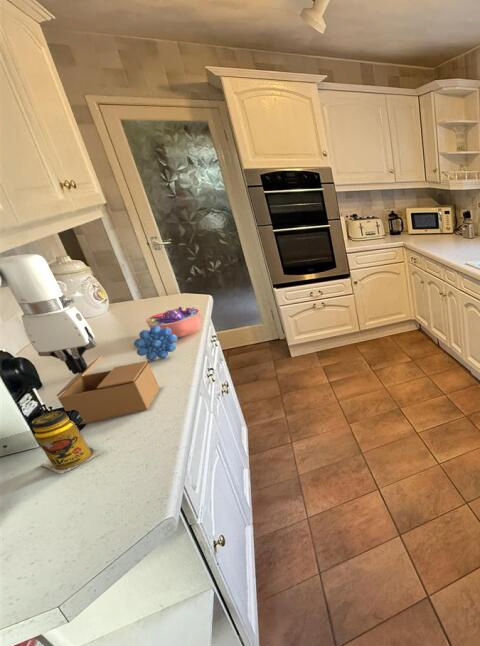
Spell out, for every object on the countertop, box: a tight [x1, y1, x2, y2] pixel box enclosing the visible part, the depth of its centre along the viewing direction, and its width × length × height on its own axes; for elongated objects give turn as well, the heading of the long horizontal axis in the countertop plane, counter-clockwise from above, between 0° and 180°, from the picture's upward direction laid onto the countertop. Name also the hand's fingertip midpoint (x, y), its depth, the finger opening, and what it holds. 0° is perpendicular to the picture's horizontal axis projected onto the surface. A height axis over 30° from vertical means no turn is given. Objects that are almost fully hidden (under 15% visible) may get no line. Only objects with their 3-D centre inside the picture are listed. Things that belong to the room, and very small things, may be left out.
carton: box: [57, 360, 160, 426], centre depth 108 cm, size 15×13×9 cm
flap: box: [56, 355, 103, 397], centre depth 104 cm, size 7×13×1 cm
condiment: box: [30, 410, 104, 475], centre depth 88 cm, size 7×8×12 cm
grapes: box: [133, 326, 178, 361], centre depth 136 cm, size 12×7×12 cm, turn 125°
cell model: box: [145, 306, 202, 339], centre depth 155 cm, size 17×20×11 cm
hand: (80, 371), depth 104 cm, fingers closed
